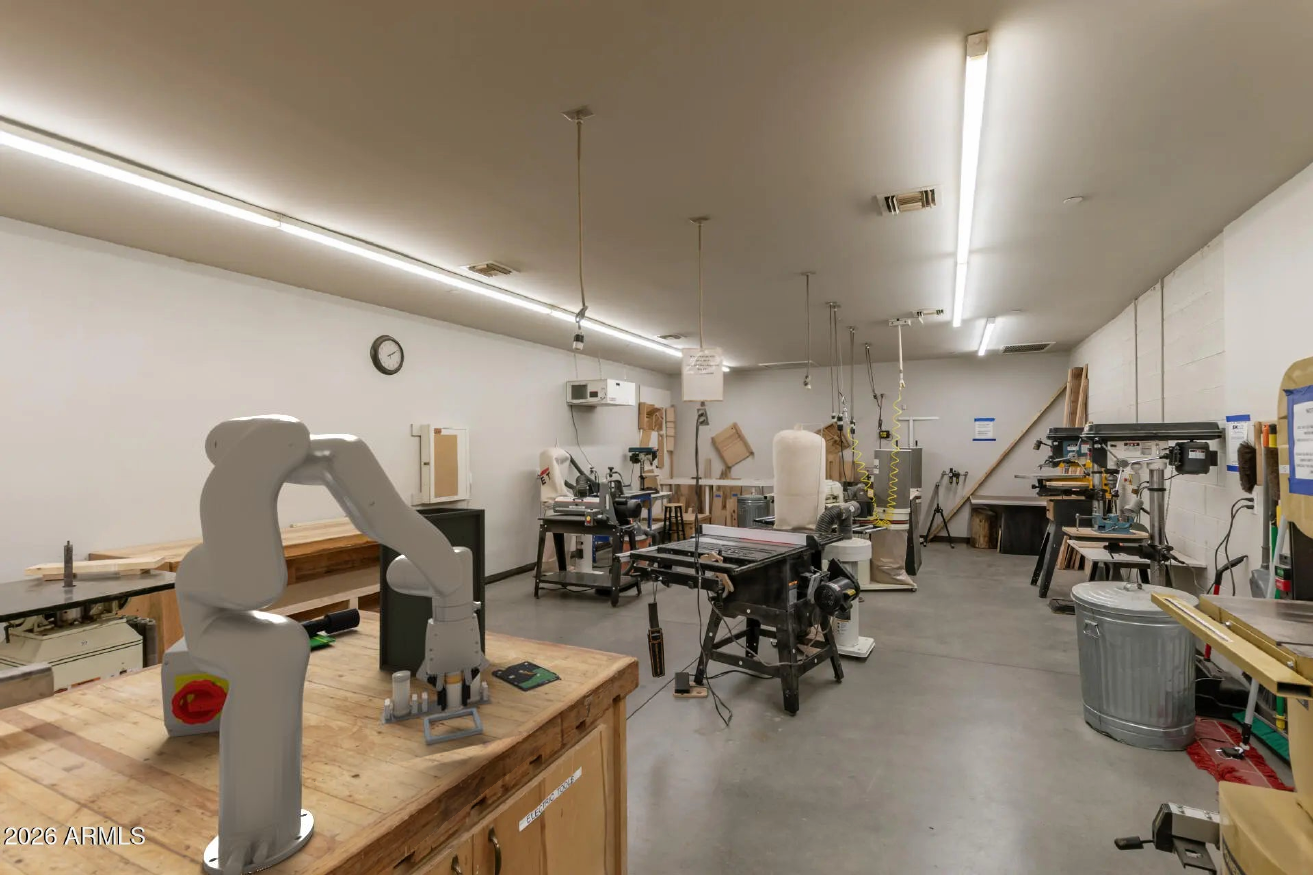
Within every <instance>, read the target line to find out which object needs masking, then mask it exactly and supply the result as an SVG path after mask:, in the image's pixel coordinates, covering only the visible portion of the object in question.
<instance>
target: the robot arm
mask: <svg viewBox="0 0 1313 875" xmlns="http://www.w3.org/2000/svg"><path fill="white" fill-rule="evenodd" d="M204 450H205V454H206V457H207V458H208V460H209V462H210V463H211V464H212V465H213V466H214V467H213V468H212V469H211V471H210V473H209V475H208V476H207V478H206V479H205V482H204V484H203V488H202V490H201V493H200V498H199V499H200V500H199V519H200V520H199V521H200V526H201V536H202V542H200V543H198V544H197V545H195V546H194V547H192V548H191V549H190V550H189V551H188V552H187V553H185V555H184V556H183V558H182V559H181V560H180V562H179V564H178V567H177V570H176V572H175V577H174V589H175V590H174V592H175V596H176V602H177V607H178V612H179V618H180V623H181V628H182V632H183V637H185V642H186V646H187V650H188V653H189V656H190V658H191V660H192V662H193V663H194V664H195V666H196V667H197V668H199V669H200V670H201V671H203V672H205V673H207V674H210V675H213V676H215V677H219V678H222V679H224V680H227V681H229V691H228V695H227V698H226V701H225V703H224V706H223V710H222V714H221V720H220V731H219V738H218V739H219V741H218V742H219V753H218V755H219V756H218V757H219V759H218V760H219V761H218V766H219V767H218V820H217V821H218V822H217V823H218V824H217V825H218V827H217V829H218V830H217V836H216V837H215V838H214V839H213V840H212V841H210V843H209V844H208V845H207V847H206V849H205V850H204V852H203V856H202V868H203V869H204V871H205V872H206V873H208V874H209V875H241V874H246V875H248V874H247V873H249V872H253V873H255V872H254V871H257V870H260V869H262V868H265V867H268V866H270V867H272V866H274V865H277V864H278V863H280V862H282V861H283V860H286V859H287V858H289V857H291V855H293V854H294V853H296V852H298V851H299V850H300V849H301V848H302V847H303V846H304V845H305V844H306V843H307V842H308V841H309V840H310V838H311V836H312V835H313V833H314V829H315V818H314V816H313V814H312V813H310V812H309V811H308V810H305V809H303V808H302V805H303V802H302V801H303V795H302V794H303V721H304V720H303V715H304V714H303V713H304V712H303V710H304V708H303V707H304V706H303V704H304V691H305V690H304V689H305V682H306V675H307V671H308V667H309V663H310V657H311V649H312V648H311V644H310V639H309V636H308V633H307V632H306V630H305V629H304V627H303V626H302V625H301V624H299V623H298V622H299V621H296V620H294V619H292V618H291V617H288V616H285V615H281V614H276V613H272V612H267V611H260V610H262V609H266V608H267V607H270V606H271V605H273V604H275V603H276V602H277V601H278V600H279V599H280V598H281V597H282V595H283V594H284V592H285V591H286V588H287V585H288V575H289V574H288V567H287V560H286V556H285V550H284V546H283V538H282V533H281V528H280V523H279V514H278V499H279V496H280V492H281V489H282V488H283V485H284V484H293V485H299V486H315V487H316V486H320V487H321V486H323V487H325V488H326V490H328V492H329V493H330V495H331V497H333V499H334V500H335V501H336V503H337V504H338V506H339V507H340V508H341V510H342V511H343V513H344V514H345V516H346V518H348V519H349V522H350V523H351V524H352V525H353V527H354V528H355V530H357V531H358V532H359V533H360V534H362V535H364V536H365V537H367V538H369V539H370V540H372V541H375V542H377V543H379V544H380V543H381V544H383V545H386V546H388V547H390V548H392V549H394V550H396V551H397V552H399V553H400V554H402V555H401V556H399V557H397V558H396V559H395V560H394V561H393V562H392V563H391V564H390V566H389V567H388V570H387V581H388V584H389V585H390V587H391V588H392V589H394V590H395V591H397V592H400V593H403V594H409V595H416V596H426V597H432V619H429V620H428V625H427V631H426V642H425V659H424V661H423V663H422V665H421V666H420V668H419V670H418V672H417V674H416V677H415V678H416V679H418V680H420V681H422V682H426V683H428V684H429V685H431V687H432V688H435V690H436V700H437V706H440V705H441V710H442V711H445V710H446V692H445V682H444V681H445V675H444V674H445V673H451V672H455V671H462V670H463V677H464V678H463V680H462V692H463V706H465V707H466V706H467V700H470V699H471V686H470V685H471V684H472V681H473V680H474V679H475V678H476V677H477V675H478V674H479V673H480V674H481V672H483V671H485V669H487V668H488V667H489V666H490V662H489V660H488V659H487V657H486V655H485V656H484V654H483V653H482V651H481V645H480V633H479V627H478V620H477V616H476V614H475V613H474V612H475V610H477V609H481V603H480V602H474V601H473V564H472V552H471V550H470V549H468V548H466V547H452V546H451V544H450V543H449V541H448V540H447V538H446V537H445V536H444V535H443V534H442V533H441V532H440V531H439V530H438V529H437V528H436V527H435V526H434V525H433V524H431V523H430V522H429V521H428V520H426V519H425V518H424V517H423V516H421V515H420V514H419V513H418V512H417V511H415V510H416V509H414V508H413V507H411V506H410V505H409V504H408V503H406V502H405V501H404V500H403V498H402V497H401V494H399V492H398V490H397V489H396V487H395V485H394V484H393V483H392V481H391V480H390V478H389V476H388V475H387V473H386V471H385V470H384V468H383V467H382V465H381V464H380V462H379V461H378V459H377V457H376V456H375V455H374V453H373V451H372V450H371V449H370V447H369V445H368V444H367V443H366V441H364V440H363V439H361V438H360V437H358V436H355V435H353V434H352V435H351V434H345V433H344V434H341V433H340V434H338V433H337V434H319V435H318V434H317V435H315V434H311V433H310V430H309V429H308V427H307V425H305V423H304V422H303V421H301V420H299V419H297V418H295V417H293V416H289V415H283V414H267V415H266V414H265V415H256V416H246V417H245V416H244V417H237V418H231V419H227V420H225V421H221V422H219V424H217V425H215V426H214V427H213V428H211V430H210V431H209V433H208V434H207V435H206V438H205V443H204ZM471 669H472V670H471ZM426 671H427V673H426ZM277 862H278V863H277ZM273 864H274V865H273ZM271 865H272V866H271ZM268 868H269V867H268ZM265 869H266V868H265ZM262 870H263V869H262ZM260 871H261V870H260ZM257 872H258V871H257Z"/></svg>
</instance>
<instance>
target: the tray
mask: <svg viewBox="0 0 1313 875" xmlns="http://www.w3.org/2000/svg"><path fill="white" fill-rule="evenodd" d="M468 715H472V716H473V719H474V720H473V721H474V723H475V724H474V725H475V726H476V728H471V729H466V730H462V731H456V732H452V733H447V734H443V735H442V734H441V735H437V736H433V737H431V730H430V724H429V723H432V722H437V721H442V720H448V719H453V718H457V717H463V716H468ZM423 727H424V728H423V730H424V737H425V738H424V740H425V746H428V745H431V744H436V743H442V742H446V741H449V740H450V741H451V740H455V739H460V738H465V737H469V736H474V735H477V734H478V735H479V734H483V733H484V728H483V725H482V722H481V719H480V716H479V713H478V709H477V707H471V708H466V709H462V710H461V711H459V712H457V713H446V712H445V713H440V714H435V715H430V716H425V717H424V718H423Z"/></svg>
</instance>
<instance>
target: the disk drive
mask: <svg viewBox="0 0 1313 875" xmlns="http://www.w3.org/2000/svg"><path fill="white" fill-rule="evenodd" d="M491 676H493V677H496V678H497V679H499V680H501V681H504V682H506V683H507V684H509V685H511V686H513V687H515V688H517V689H518V690H521V691H522V692H528V691H531V690H533V689H536V688H538V687H541V686H543V685H547V684H549V683H552V682H555V681H558V680H560V681H562V678H561V677H560V675H559V674H557V673H556V672H553V671H552V670H549V669H547V668H545V667H542V666H541V665H537V664H535V663H533V662H532V661H528V660H526V661H523V662H519V663H516V664H512V665H509V666H507V667H506V668H504V669H501V668H499V669H495V670H493V671H491Z"/></svg>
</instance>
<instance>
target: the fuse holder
mask: <svg viewBox="0 0 1313 875" xmlns="http://www.w3.org/2000/svg"><path fill="white" fill-rule="evenodd" d="M480 694H481V699H480V701H478V702H475V703H467V706H466V707H465V706H463V709H462V710H465V709H471V708H476V707H479V706H484V705H490V704H492V700H491V697H490V695H489V686H488V684H487V682H486V681H482V682H481V691H480ZM411 696H412V697H411V698H412V699H411V701H412V702H411V704H410V713H409V714H408V715H406V716H402V717H393V716H392V709H393V707H391V698H386V699H385V700H384V709H382V711H381V712H382V716H381V725H386V724H391V723H398V722H402V721H408V720H412V719H417V718H423V717H429V716H435V715H440V714H445V713H446V712H445V711H442V710H441V705H440V706H437V699H434V700H430V701H428V692H422V693H421V702H418V694H417V693H413V694H411Z"/></svg>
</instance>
